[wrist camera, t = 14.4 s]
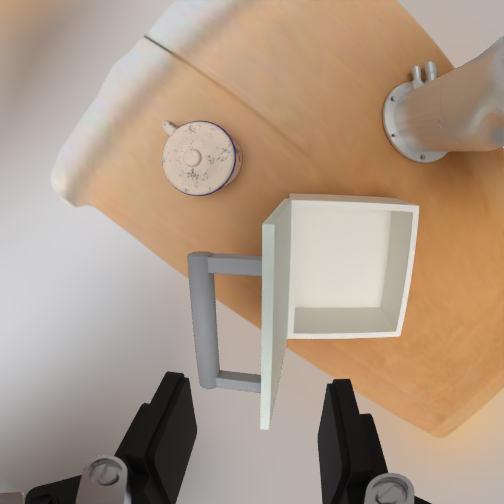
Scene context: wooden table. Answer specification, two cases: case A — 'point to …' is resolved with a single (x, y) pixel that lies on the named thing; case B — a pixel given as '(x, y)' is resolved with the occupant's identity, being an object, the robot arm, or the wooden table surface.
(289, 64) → the wooden table surface
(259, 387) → the carton lid
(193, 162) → the teacup with lid
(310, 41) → the wooden table surface
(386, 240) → the carton
